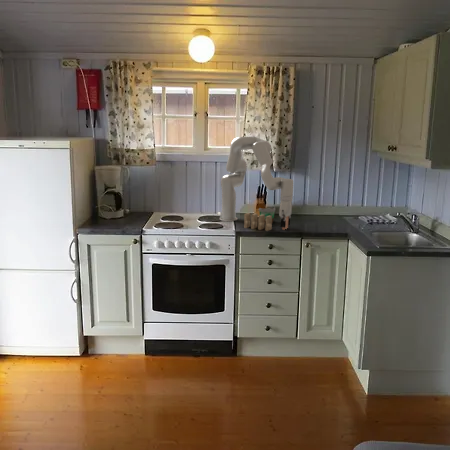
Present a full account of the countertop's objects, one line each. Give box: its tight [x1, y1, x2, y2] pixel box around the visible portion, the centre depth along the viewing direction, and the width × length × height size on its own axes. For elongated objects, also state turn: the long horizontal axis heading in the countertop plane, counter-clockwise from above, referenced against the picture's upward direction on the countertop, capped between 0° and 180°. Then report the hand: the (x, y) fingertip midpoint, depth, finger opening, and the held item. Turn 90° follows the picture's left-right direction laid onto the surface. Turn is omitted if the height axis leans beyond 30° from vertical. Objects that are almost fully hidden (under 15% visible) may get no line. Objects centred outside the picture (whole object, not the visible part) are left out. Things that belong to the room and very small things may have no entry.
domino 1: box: [243, 212, 252, 229], centre depth 304 cm, size 2×5×9 cm, turn 151°
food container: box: [258, 206, 277, 224], centre depth 318 cm, size 12×6×10 cm, turn 112°
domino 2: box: [250, 213, 259, 230], centre depth 302 cm, size 2×5×9 cm, turn 151°
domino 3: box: [257, 214, 266, 231], centre depth 299 cm, size 2×5×9 cm, turn 151°
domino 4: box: [264, 215, 273, 232], centre depth 297 cm, size 2×5×9 cm, turn 151°
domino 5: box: [281, 216, 289, 231], centre depth 300 cm, size 2×5×9 cm, turn 151°
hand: (285, 225), depth 301 cm, fingers open, 7 cm apart
